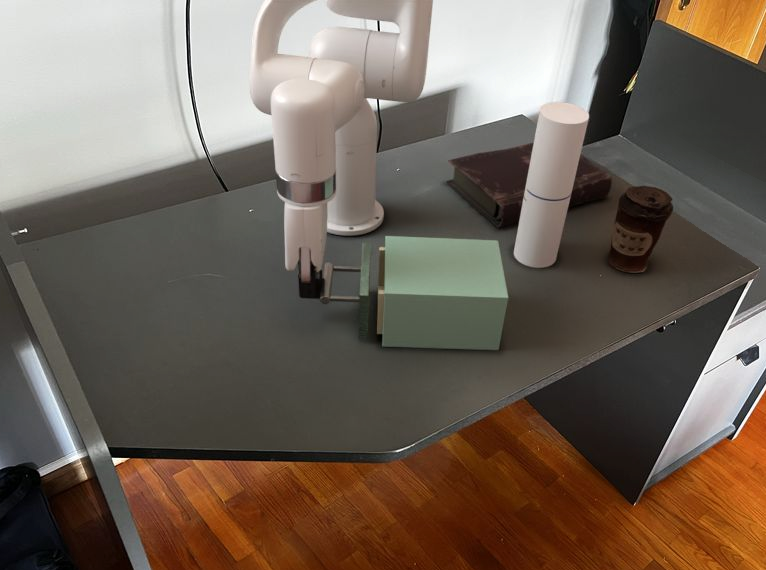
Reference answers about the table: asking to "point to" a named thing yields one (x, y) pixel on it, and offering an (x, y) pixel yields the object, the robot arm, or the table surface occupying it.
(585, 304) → the table surface
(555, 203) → the cylindrical container
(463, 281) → the fridge
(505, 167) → the diary
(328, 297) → the fridge drawer
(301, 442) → the table surface
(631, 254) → the coffee cup
